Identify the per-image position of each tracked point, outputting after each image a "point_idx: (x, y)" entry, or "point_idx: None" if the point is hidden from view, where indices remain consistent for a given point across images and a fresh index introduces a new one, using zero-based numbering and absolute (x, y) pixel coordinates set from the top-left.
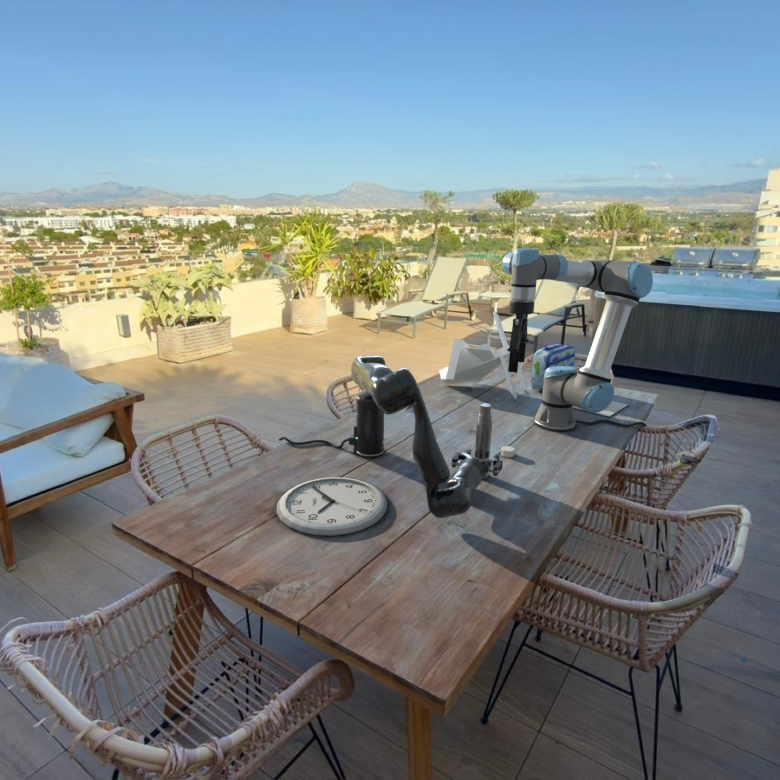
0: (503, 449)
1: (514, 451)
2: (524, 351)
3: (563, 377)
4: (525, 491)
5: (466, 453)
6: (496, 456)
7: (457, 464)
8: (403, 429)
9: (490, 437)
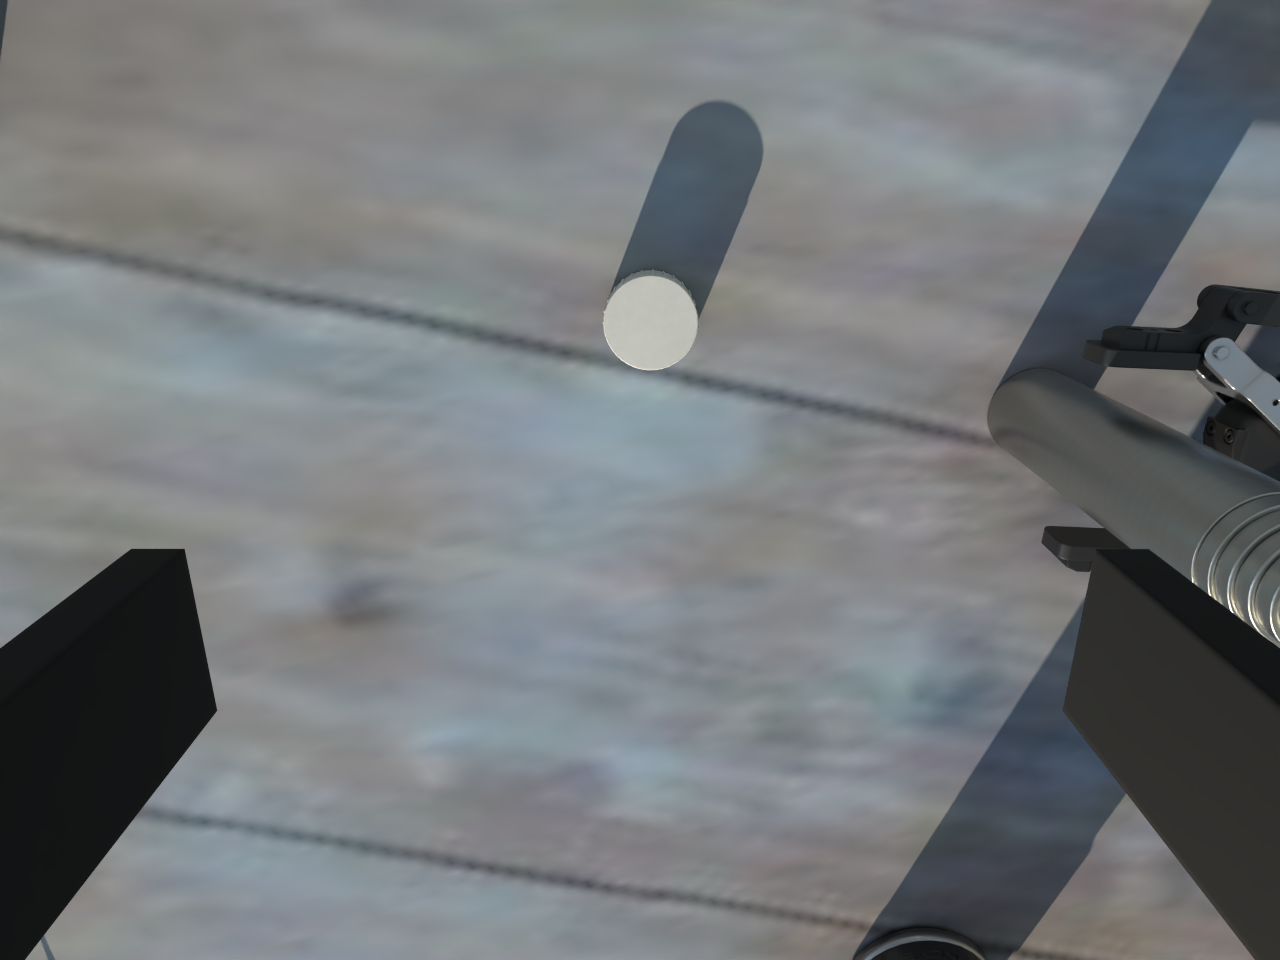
0: (679, 351)
1: (653, 272)
2: (5, 718)
3: None
4: (1184, 100)
5: None
6: (1158, 353)
7: None
8: (541, 943)
9: (1217, 452)
